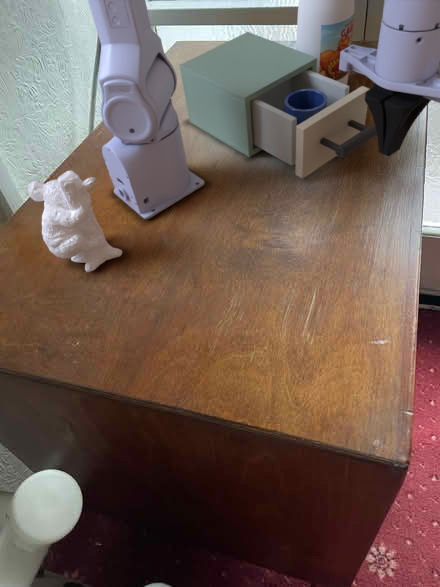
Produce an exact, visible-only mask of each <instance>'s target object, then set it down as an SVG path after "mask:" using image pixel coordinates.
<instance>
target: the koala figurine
mask: <svg viewBox="0 0 440 587" xmlns="http://www.w3.org/2000/svg"><path fill="white" fill-rule="evenodd" d="M96 182H97V178H96V177H94V176H89V177H88V178H86V179H83V180H82V179H81V176H80V175H79V174H78V173H76V172H75V171H73V170H67V171H65V172H64V173H61V175H59V176H58V177H57V179H51V180H49V181H47V182H46V183H44V182H42V181H39V180H34V181H31V182H30V183H29V184H28V186H27V192H28V195H29V198H31V199H32V201H34V202H43V201H44V202H43V207H44V209H43V212H42V215H41V235H42V239H43V242H44V243H45V245H46V246H47V248H48V250H49V251H50V253H51V254H53V255H54V256H56V257H57V258H61V259H62V260H66V259H69V260H71V261H72V262H74V263H79V264H84V270H85V272H86V273H90V272H93V271H95V270H96V269H97V268H99V266H100V265H102V264H103V263H105V262H106V261H109V260H112V259H116V258H120V257H121V256H122V254H123V250H122V249H120V248H117V247H113V246H111V245H110V244H109V243H108V240H107V239H106V237H105V233H104V231H103V229H102V227H101V225H100V223H99V222H98V219H97V218H96V216H95V213H94V211H93V208H94V207H92V202H93V201H92V198H91V194H90V193H89V192H88V191H89V190H90V189H92V188H93V186H94V185H95V183H96Z"/></svg>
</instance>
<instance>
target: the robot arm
mask: <svg viewBox="0 0 440 587" xmlns="http://www.w3.org/2000/svg"><path fill="white" fill-rule="evenodd" d="M87 2H88V5H89V10H90V12H91V16H92V19H93V22H94V25H95V29H96V32H97V35H98V40H99V42H100V47H101V49H100V59H99V68H98V84H99V86H100V90H101V95H102V97H101V98H102V99H101V103H100V116H101V120H102V122H103V123H104V125H105V127H106V128H107V130H108V131H109V132H110V133H111V134H112V135H113V137H112V138H111V139H110V140H109V141H108V142H106V143H105V144H104V145H103V146H102V148H101V155H102V157H103V160H104V163H105V166H106V169H107V172H108V174H109V177H110V179H111V182H112V185H113V188H114V189H113V194H115V195H116V196H117V197H118V198H119V199H120V200H122V201H123V202H124V203H125V204H126V205H127V206H129V207H130V208H131V209H132V210H133V211H134V212H135V213H136V214H138V215H139V216H140V217H141V218H143V219H144V220H149V219H151V218H153V217H154V216H156V215H158V214H159V213H161V212H162V211H164V210H165V209H167V208H169V207H171V206H173V205H174V204H175V203H177V202H179V201H181V200H182V199H184V198H186V197H187V196H189V195H190V194H192V193H193V192H195V191H197V190H199V189H200V188H201V187H203V186H204V185H205V180H204V179H202V178H201V177H199V176H198V175H197V174H195V173H194V172H192V171H191V170H189V165H188V160H187V156H186V150H185V146H184V142H183V141H184V140H183V136H182V131H181V125H180V122H179V121H180V120H179V116H178V113H177V111H176V108H175V107H174V105H173V100H172V97H173V95H174V94H175V92H176V90H177V86H178V76H177V72H176V69H175V68H174V66H173V64H172V63H171V61H170V59H168V57H167V55H166V53H165V51H164V47H163V42H162V38H161V37H160V36H159V35H158V34H157V33H156V32H155V31H154V30H153V28H152V26H151V22H150V16H149V12H148V11H149V10H148V7H147V1H146V0H87ZM382 10H383V11H382V14H381V15H382V16H381V21H380V27H379V28H380V30H379V36H378V41H377V42H378V43H377V48H373V47H372V48H371V47H366V46H360V45H357V44H354V43H353V44H351V46H349V47H348V48H346V49H344V50H342V51H341V52H340V64H339V70H342V71H345V72H348V71H349V72H350V71H353V72H356V73H358V74H361V75H362V76H366V77H367V78H368V79H369V80H371V81H372V82H373V83H374V84H372V87H371V88H369V89H370V90H368V91H367V92H366V93H365V101H366V103H367V105H368V106H367V108H368V109H369V111H370V113H371V116H372V119H373V122H374V123H373V124H374V125H375V127H376V132H377V135H376V138H377V145H378V153H380V154H381V155H384V156H385V157H389V158H390V157H391V156H392V155H394V154H395V153H397V152H398V151H399V150H400V149H401V147H402V146H403V143H404V140H405V138H406V137H407V135H408V133H409V132H410V129H411V128H412V126H413V125H414V123H415V122H416V120H417V119H418V117H419V116H420V114H422V112H423V111H424V110H425V108H426V107H427V106H428V105H429V103H430V102H431V101H433V102H435V103H438V104H440V0H384V2H383V9H382Z"/></svg>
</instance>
